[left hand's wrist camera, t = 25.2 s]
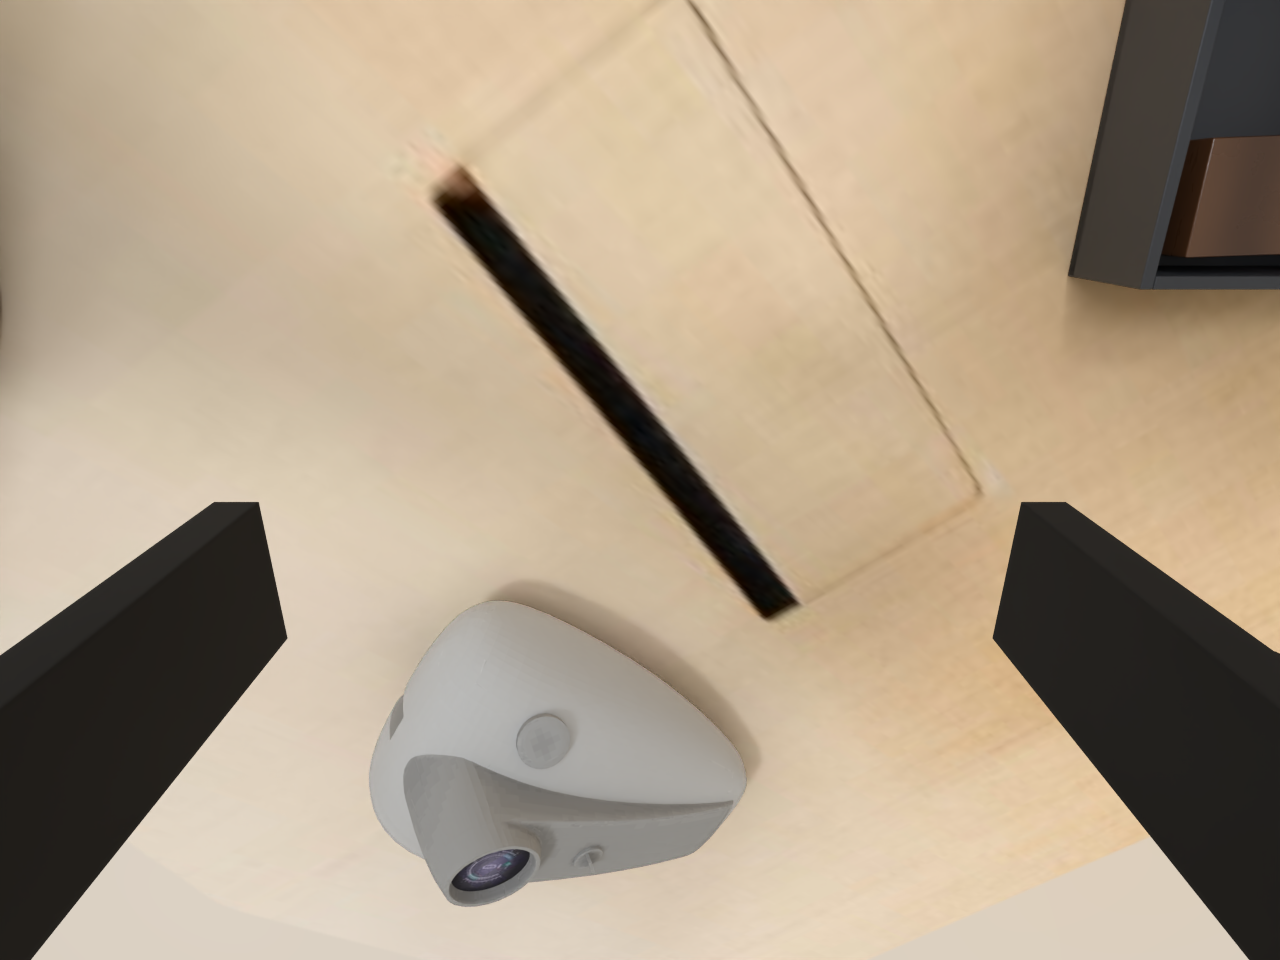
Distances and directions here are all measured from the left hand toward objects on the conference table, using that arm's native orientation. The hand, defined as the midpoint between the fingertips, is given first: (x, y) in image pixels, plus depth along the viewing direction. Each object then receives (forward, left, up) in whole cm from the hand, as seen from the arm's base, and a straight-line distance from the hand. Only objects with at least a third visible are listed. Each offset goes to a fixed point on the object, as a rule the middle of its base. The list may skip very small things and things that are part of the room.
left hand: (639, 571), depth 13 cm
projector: (-4, -27, -29) cm, 40 cm away
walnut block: (+27, +6, -28) cm, 40 cm away
